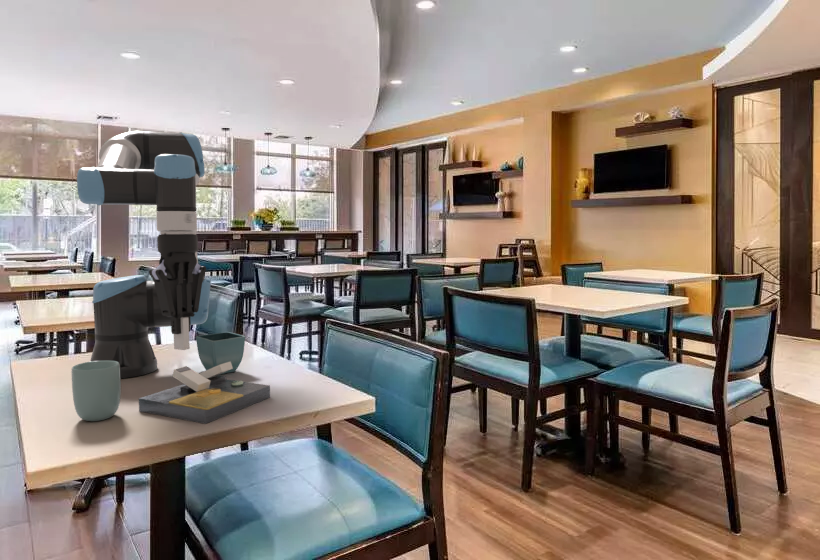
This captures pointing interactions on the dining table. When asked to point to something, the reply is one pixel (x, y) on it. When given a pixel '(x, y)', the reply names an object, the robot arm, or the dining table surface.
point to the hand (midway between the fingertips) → (181, 348)
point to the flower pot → (220, 349)
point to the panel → (205, 400)
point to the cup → (96, 389)
